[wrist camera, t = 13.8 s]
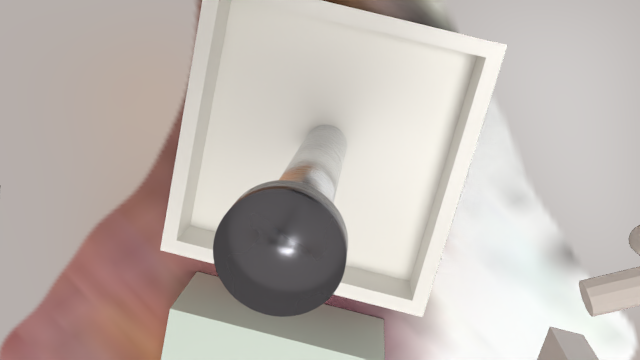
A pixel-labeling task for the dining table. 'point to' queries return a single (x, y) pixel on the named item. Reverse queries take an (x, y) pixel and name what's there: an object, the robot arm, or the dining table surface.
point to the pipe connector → (613, 287)
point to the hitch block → (264, 330)
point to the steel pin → (288, 233)
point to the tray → (342, 112)
